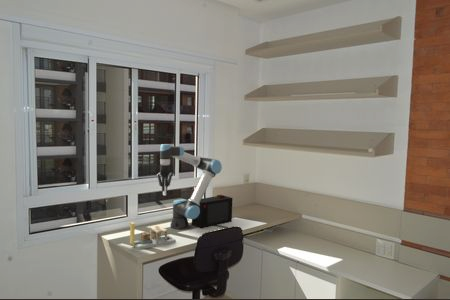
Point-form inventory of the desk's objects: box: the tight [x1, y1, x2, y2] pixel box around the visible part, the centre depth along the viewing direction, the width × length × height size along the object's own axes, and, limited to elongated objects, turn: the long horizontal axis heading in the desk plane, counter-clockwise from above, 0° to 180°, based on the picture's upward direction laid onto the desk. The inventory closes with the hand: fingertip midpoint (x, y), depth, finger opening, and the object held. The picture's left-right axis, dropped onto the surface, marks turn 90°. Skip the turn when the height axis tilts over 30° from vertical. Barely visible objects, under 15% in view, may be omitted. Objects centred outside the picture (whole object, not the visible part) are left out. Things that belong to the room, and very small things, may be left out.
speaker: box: [191, 194, 233, 229], centre depth 301 cm, size 15×35×24 cm, turn 132°
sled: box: [129, 221, 153, 246], centre depth 241 cm, size 14×7×15 cm, turn 125°
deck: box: [132, 234, 176, 251], centre depth 247 cm, size 29×12×2 cm, turn 125°
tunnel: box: [149, 225, 168, 243], centre depth 249 cm, size 8×12×8 cm, turn 35°
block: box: [140, 231, 150, 241], centre depth 243 cm, size 5×5×5 cm
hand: (164, 195), depth 260 cm, fingers closed
